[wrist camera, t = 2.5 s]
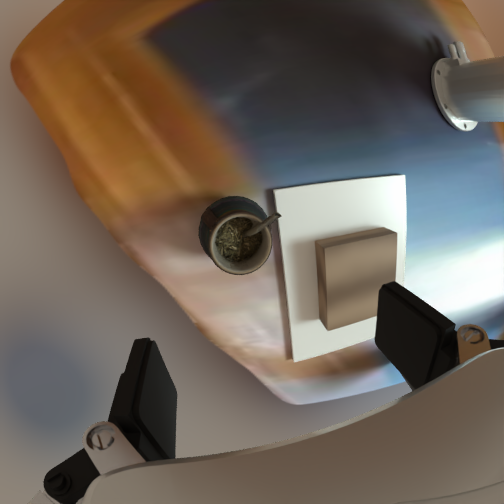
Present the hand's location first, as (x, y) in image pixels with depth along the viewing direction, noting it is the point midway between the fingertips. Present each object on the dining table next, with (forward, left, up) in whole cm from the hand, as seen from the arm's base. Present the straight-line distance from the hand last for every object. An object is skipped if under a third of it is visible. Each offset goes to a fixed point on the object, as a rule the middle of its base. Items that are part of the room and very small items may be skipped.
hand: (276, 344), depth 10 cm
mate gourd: (0, 0, -22) cm, 22 cm away
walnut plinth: (+9, +14, -21) cm, 27 cm away
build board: (+9, +14, -22) cm, 27 cm away
